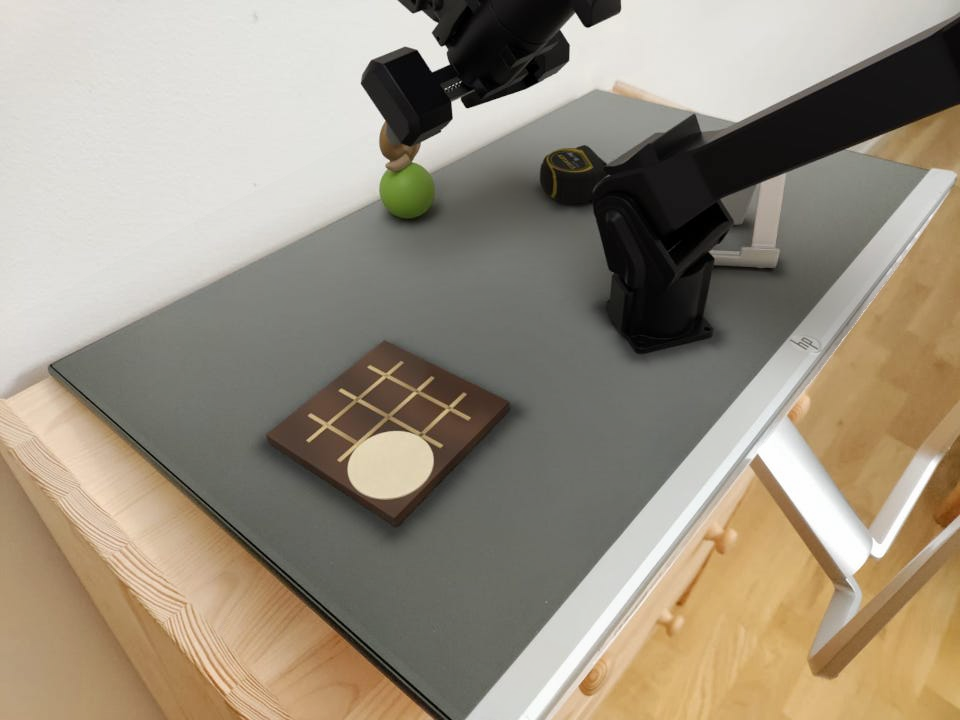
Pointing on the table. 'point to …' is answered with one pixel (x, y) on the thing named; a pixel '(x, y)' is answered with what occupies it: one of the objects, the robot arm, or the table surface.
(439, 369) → the game board
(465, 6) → the robot arm
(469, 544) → the table surface
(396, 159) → the snail figurine
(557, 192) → the tape measure
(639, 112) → the table surface
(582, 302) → the table surface
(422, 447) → the cream round disc
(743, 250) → the tablet stand
